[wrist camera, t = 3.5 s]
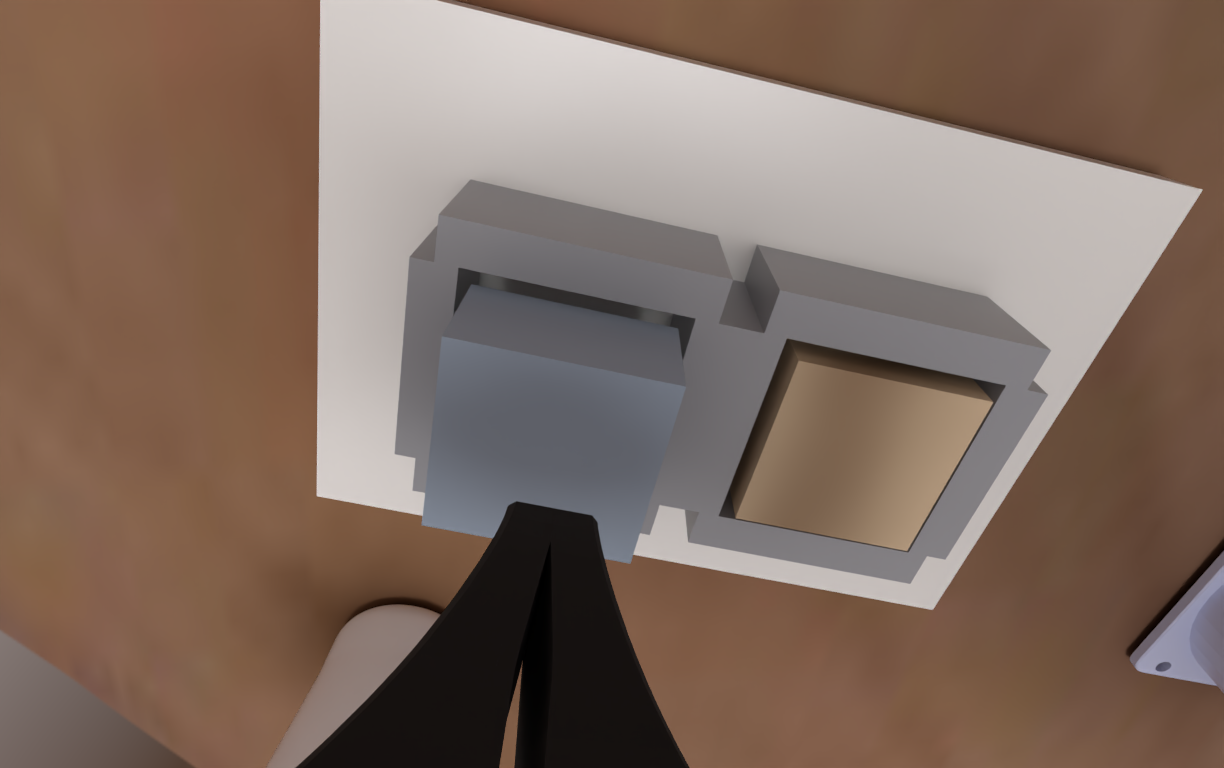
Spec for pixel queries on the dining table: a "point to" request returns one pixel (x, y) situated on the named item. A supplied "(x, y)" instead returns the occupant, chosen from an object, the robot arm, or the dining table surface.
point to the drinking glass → (352, 675)
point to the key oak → (854, 445)
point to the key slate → (550, 415)
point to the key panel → (700, 259)
